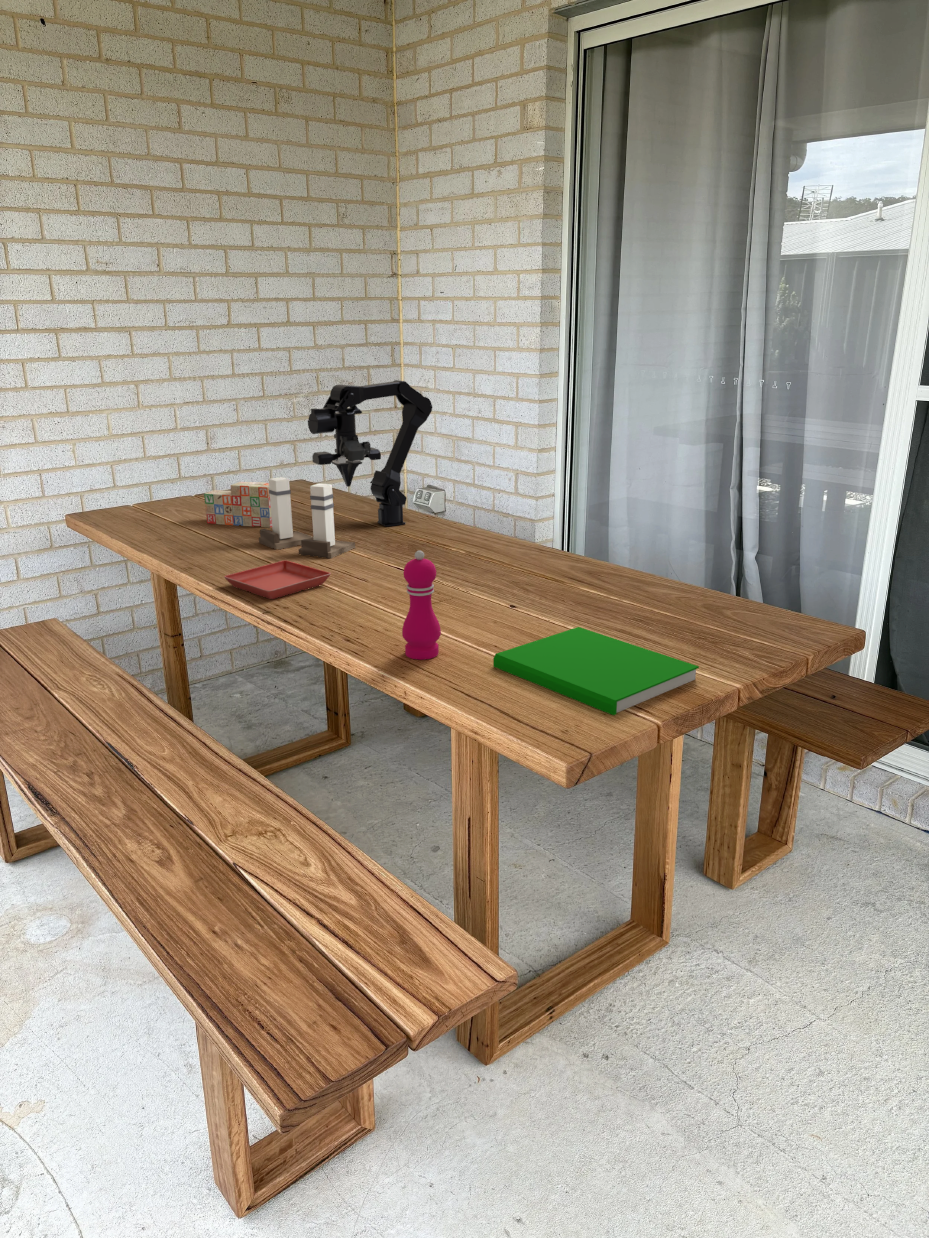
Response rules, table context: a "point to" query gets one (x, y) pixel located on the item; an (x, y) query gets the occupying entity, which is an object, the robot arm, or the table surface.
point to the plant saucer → (278, 579)
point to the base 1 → (274, 542)
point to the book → (595, 669)
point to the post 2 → (322, 512)
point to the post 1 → (281, 507)
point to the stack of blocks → (240, 505)
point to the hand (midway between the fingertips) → (348, 486)
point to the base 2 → (324, 548)
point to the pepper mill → (420, 610)
